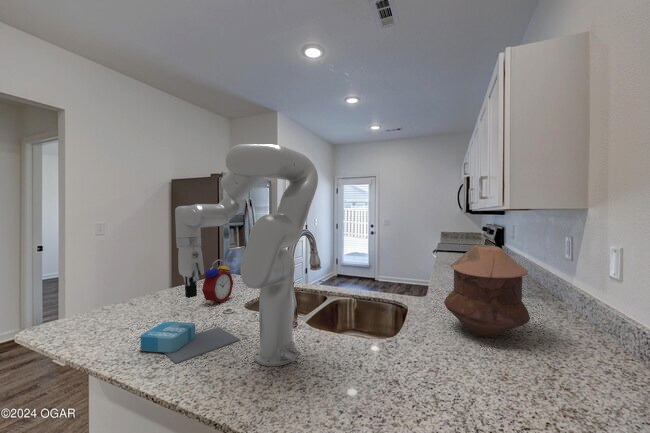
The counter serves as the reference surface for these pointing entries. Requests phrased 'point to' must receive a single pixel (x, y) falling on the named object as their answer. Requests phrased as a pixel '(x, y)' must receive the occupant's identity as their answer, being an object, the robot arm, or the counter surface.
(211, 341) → the rubber mat
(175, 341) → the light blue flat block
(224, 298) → the alarm clock
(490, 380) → the counter surface
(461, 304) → the pottery vessel
